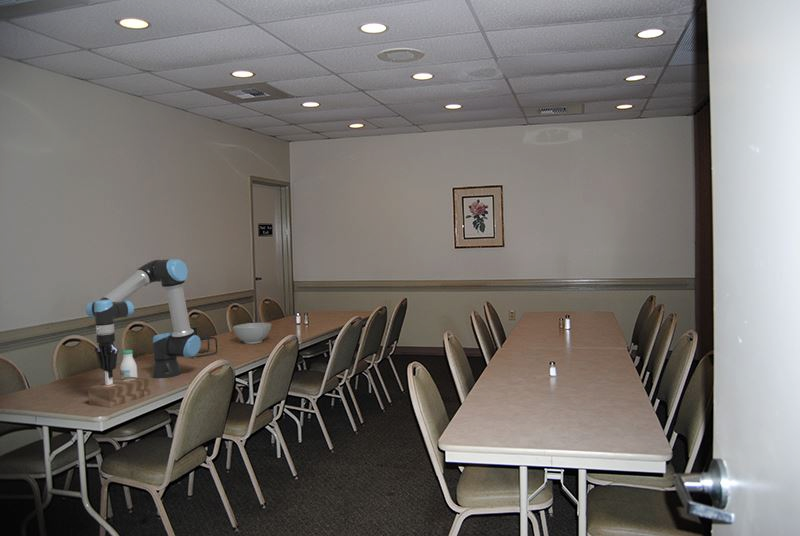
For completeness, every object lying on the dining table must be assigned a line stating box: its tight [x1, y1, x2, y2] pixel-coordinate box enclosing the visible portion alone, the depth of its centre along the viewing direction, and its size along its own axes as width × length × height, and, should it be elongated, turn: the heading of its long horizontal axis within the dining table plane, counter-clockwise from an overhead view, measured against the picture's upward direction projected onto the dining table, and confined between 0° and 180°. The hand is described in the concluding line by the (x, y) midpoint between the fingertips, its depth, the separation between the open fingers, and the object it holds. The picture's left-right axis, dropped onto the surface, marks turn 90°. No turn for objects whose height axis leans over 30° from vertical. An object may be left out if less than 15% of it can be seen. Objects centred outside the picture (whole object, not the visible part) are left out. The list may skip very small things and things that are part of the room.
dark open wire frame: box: [190, 323, 219, 359], centre depth 382 cm, size 13×17×22 cm
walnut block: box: [87, 377, 151, 409], centre depth 279 cm, size 22×14×8 cm, turn 155°
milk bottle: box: [119, 349, 138, 379], centre depth 296 cm, size 8×8×20 cm
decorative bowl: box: [232, 322, 272, 345], centre depth 424 cm, size 27×27×12 cm
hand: (109, 384), depth 274 cm, fingers closed
